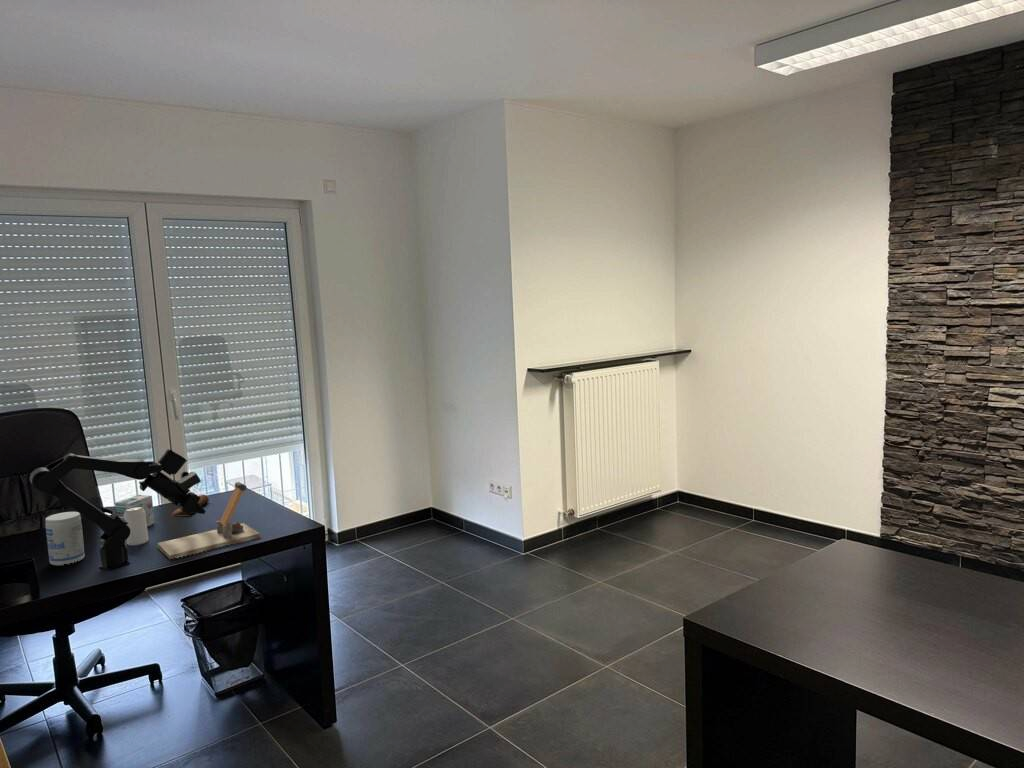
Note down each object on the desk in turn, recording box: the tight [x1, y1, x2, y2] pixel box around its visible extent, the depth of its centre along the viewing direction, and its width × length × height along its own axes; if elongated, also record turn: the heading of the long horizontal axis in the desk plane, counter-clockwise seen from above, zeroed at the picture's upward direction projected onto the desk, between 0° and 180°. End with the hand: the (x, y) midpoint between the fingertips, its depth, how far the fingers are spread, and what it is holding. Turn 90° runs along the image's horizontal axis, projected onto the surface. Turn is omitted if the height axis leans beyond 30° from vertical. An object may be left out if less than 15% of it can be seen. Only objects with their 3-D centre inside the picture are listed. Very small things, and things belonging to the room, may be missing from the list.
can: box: [124, 506, 149, 547], centre depth 239 cm, size 6×6×12 cm
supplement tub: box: [45, 511, 86, 566], centre depth 225 cm, size 10×10×15 cm
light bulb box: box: [114, 494, 155, 527], centre depth 257 cm, size 11×7×11 cm, turn 161°
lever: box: [219, 481, 247, 525], centre depth 241 cm, size 2×6×14 cm, turn 39°
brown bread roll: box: [170, 494, 210, 516], centre depth 277 cm, size 18×7×7 cm
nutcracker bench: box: [157, 520, 261, 560], centre depth 236 cm, size 28×16×6 cm, turn 129°
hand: (204, 512), depth 235 cm, fingers closed
